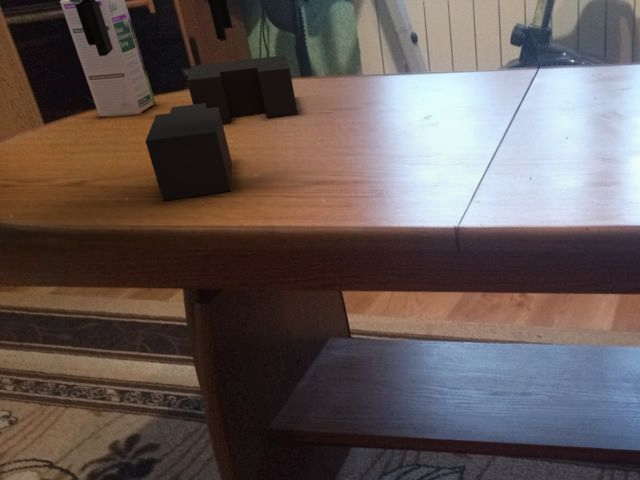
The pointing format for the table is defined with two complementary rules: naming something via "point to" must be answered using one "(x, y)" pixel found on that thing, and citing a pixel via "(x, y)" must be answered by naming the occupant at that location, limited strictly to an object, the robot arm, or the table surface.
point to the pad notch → (244, 87)
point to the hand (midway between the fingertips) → (165, 45)
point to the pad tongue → (190, 152)
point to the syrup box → (112, 62)
